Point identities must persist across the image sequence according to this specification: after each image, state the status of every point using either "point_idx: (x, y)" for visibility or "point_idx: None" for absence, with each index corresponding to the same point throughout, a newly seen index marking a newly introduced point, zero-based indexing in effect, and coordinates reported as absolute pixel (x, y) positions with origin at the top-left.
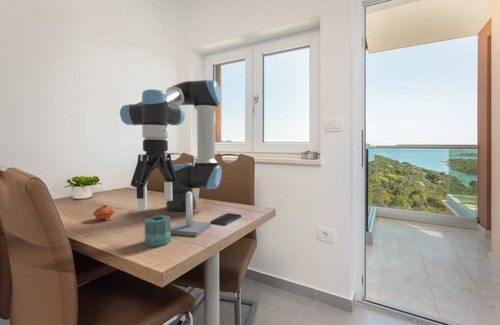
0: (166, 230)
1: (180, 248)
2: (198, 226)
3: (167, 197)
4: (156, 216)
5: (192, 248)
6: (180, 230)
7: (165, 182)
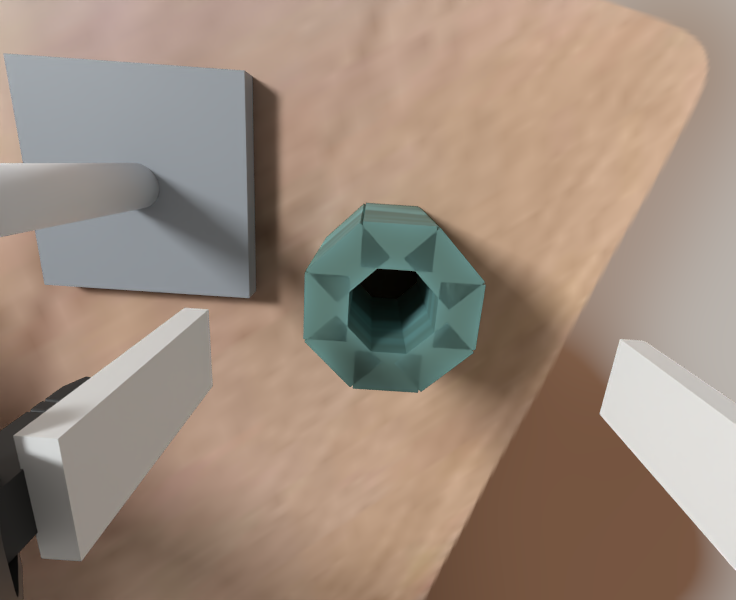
0: (412, 214)
1: (449, 93)
2: (127, 113)
3: (197, 367)
4: (342, 348)
5: (440, 14)
6: (239, 204)
7: (80, 534)
